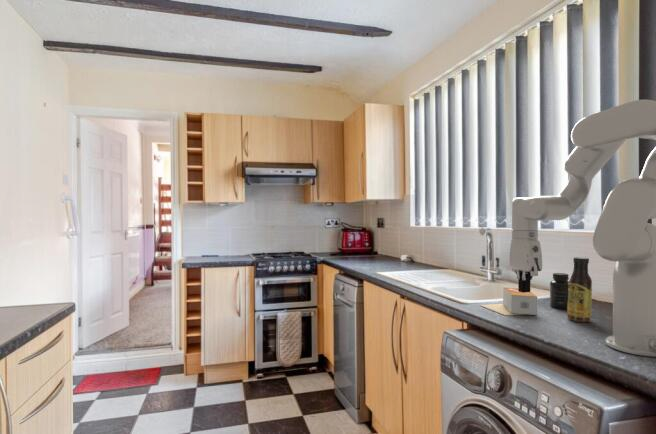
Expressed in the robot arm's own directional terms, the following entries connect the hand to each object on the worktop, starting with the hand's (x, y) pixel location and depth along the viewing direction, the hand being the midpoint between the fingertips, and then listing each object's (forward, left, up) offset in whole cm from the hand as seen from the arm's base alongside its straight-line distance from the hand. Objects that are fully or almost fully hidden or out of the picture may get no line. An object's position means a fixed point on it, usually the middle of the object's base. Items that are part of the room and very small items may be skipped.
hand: (524, 291), depth 125 cm
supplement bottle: (+9, -22, -9) cm, 25 cm away
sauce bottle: (-7, -14, -9) cm, 18 cm away
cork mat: (+10, -1, -8) cm, 13 cm away
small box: (+2, -1, -5) cm, 5 cm away
